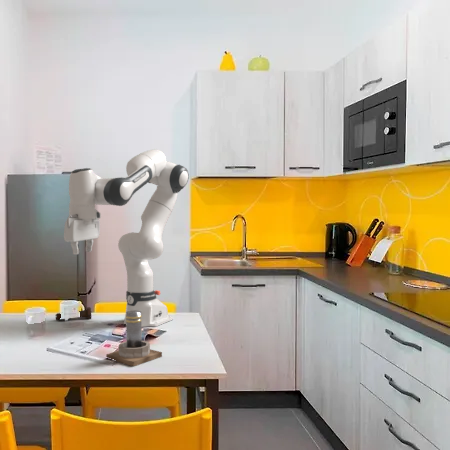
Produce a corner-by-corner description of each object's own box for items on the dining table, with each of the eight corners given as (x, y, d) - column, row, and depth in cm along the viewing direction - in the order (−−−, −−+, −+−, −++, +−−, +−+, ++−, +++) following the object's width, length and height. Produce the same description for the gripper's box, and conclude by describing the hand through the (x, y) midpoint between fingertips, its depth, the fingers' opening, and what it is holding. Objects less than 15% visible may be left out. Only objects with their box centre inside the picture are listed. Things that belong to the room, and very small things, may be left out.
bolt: (55, 325, 220) (90, 321, 226) (56, 321, 216) (91, 317, 222) (55, 312, 223) (89, 308, 228) (55, 308, 219) (90, 305, 224)
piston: (134, 349, 172) (133, 309, 171) (145, 352, 169) (144, 311, 168) (123, 353, 168) (122, 312, 167) (134, 356, 165) (133, 314, 164)
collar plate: (135, 349, 177) (134, 337, 177) (161, 356, 170) (161, 343, 170) (106, 358, 167) (106, 345, 167) (133, 366, 159) (133, 352, 159)
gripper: (76, 214, 167) (76, 256, 167) (102, 213, 187) (103, 250, 187) (58, 214, 168) (59, 255, 168) (87, 213, 188) (87, 250, 188)
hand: (82, 253), depth 178 cm, fingers open, 8 cm apart
